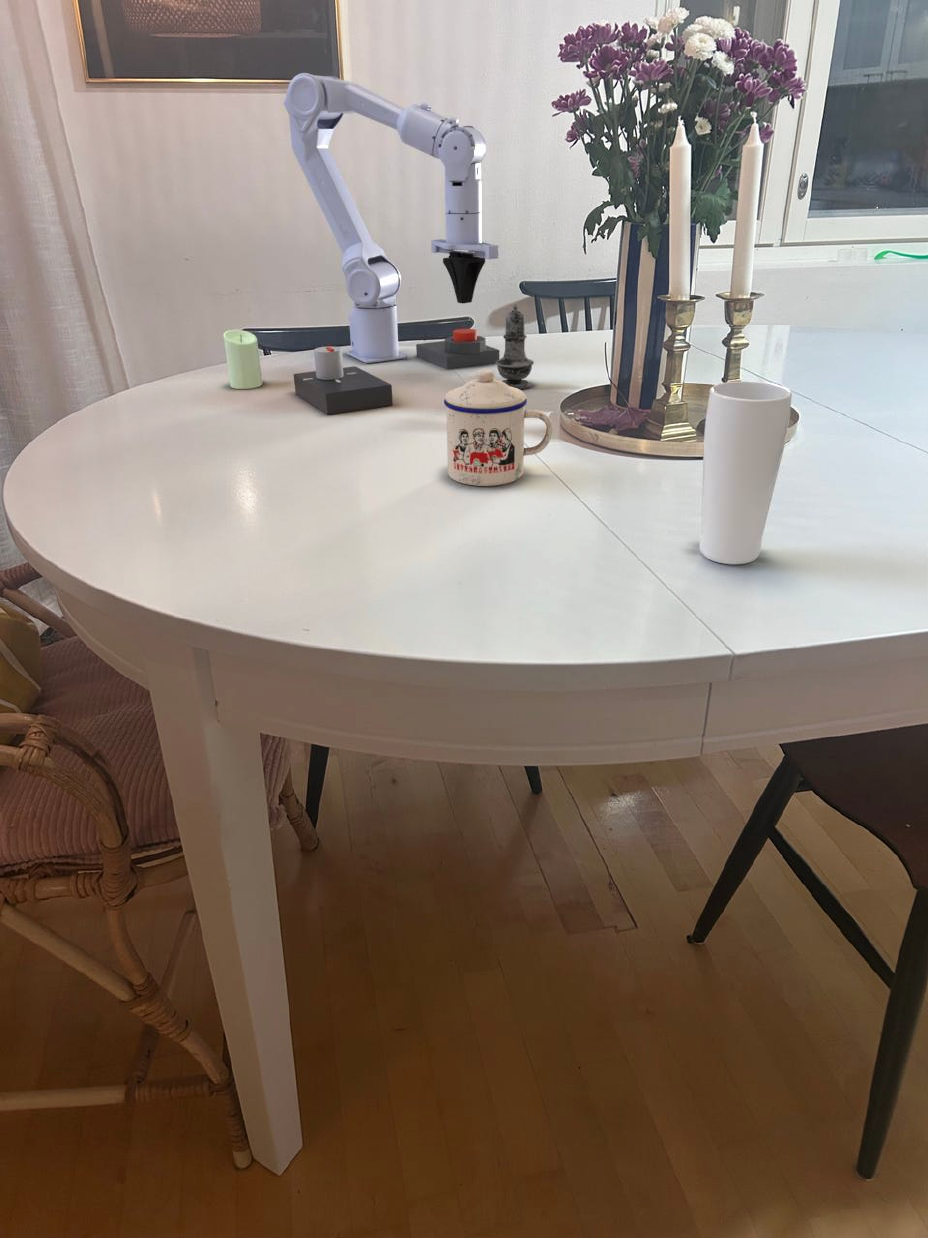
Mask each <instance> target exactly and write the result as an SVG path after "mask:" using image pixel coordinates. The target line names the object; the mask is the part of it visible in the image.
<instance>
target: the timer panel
mask: <svg viewBox="0 0 928 1238" xmlns="http://www.w3.org/2000/svg"><path fill="white" fill-rule="evenodd" d="M343 375H344V376H343V377H342V378H340V379H334V380H321V379H318V378H317V377H316V370H314V371H306V372H298V373H293V382H294V392H295V395H297V396H298V397H300V398H302V399H303V400H304V401H306V402H308V403H309V404H310V405H312V406H314V407H315V408H317V409H318V410H320V411H321V412H323V413H324V414H325V415H328V416H329V415H337V414H343V413H349V412H357V411H364V410H370V409H377V408H385V407H390V406H393V405H394V404H393V403H394V402H393V385H392V384H391V383H389V382H387V381H385V380H384V379H381V378H379V377H377V376H375V375H373V374H372V373H369V372H367V371H365V370H363V369H361V367H358V366H356V365H352V366H346V367H343Z"/></svg>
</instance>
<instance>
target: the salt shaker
mask: <svg viewBox="0 0 928 1238" xmlns="http://www.w3.org/2000/svg"><path fill="white" fill-rule="evenodd" d="M512 309H513V310H511V311H509V312H508V313H507V314H506V316H505V334H504V335H503V336H502V338H503V339H504V353H503V357H502V358H499V360H497V361H496V363H495V365H496V366H497V371H498V373H499V375H500V376H501V378H503V379H504V380H501V381H502V382H504V383H505V384H507V385H508V386H511V387H514V388H517V389H519V390H521V391H522V390H527V389H529V388H531V387H532V385H533V384H532V383H531V382H529V381H528V380H526V378H527V377H528V376H529V375H530V374H531V371H532V370H533V366H534V363H535V361H534V360H533V359H529V358H528V357H527V355H526V349H525V347H526V346H525V344H526V339H527V337H528V336H527V335H526V334H525V322H526V321H525V315H524V313H522V311H520V310H518V306H517V304H514V305H513V307H512Z"/></svg>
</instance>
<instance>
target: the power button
mask: <svg viewBox="0 0 928 1238" xmlns="http://www.w3.org/2000/svg"><path fill="white" fill-rule="evenodd" d="M452 336H453V341H458V342H471V341H477V336H478V330H477V329H474V328H458V329H454V330H453V331H452Z"/></svg>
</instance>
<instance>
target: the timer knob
mask: <svg viewBox="0 0 928 1238" xmlns="http://www.w3.org/2000/svg"><path fill="white" fill-rule="evenodd" d="M313 351H314V352H313V355H314V366H315V371H316V377H317V378H318V379H321V380H334V379H340V378H342V377H343V376H344V375H343V368H344V364H343V349H342V348H341V347H339V346H321V347H320V346H319V347H316V348H314V349H313Z"/></svg>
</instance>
